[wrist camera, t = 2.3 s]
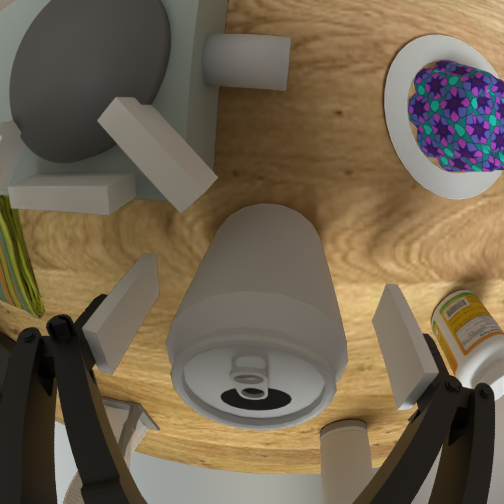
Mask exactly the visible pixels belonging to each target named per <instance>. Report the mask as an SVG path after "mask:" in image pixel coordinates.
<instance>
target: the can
mask: <svg viewBox="0 0 504 504" xmlns="http://www.w3.org/2000/svg"><path fill="white" fill-rule="evenodd" d="M166 346H167V351H168V356H169V360H170V363H171V365H172V366H173V367H172V370H171V373H170V374H171V379H172V383H173V387H174V389H175V391H176V392H177V393H178V395H179V396H180V397H181V399H182V400H183V401H184V402H185V404H187V405H188V406H189V407H191V408H192V409H193V410H195V411H196V412H197V413H199V414H200V415H202V416H204V417H206V418H208V419H210V420H212V421H215V422H217V423H220V424H223V425H227V426H231V427H234V428H238V429H247V430H258V431H261V430H278V429H284V428H288V427H292V426H296V425H300V424H302V423H304V422H306V421H308V420H310V419H312V418H314V417H316V416H317V415H319V414H320V413H321V412H322V411H323V410H324V409H325V408H326V407H328V406H329V405H330V403H331V401H332V399H333V397H334V395H335V393H336V391H337V390H336V383H337V382H338V381H339V380H340V379H341V376H342V374H343V372H344V369H345V367H346V365H347V362H348V356H347V341H346V337H345V332H344V328H343V323H342V319H341V315H340V311H339V306H338V302H337V298H336V294H335V290H334V286H333V282H332V279H331V275H330V271H329V267H328V264H327V260H326V256H325V253H324V249H323V245H322V242H321V238H320V237H319V235H318V233H317V231H316V230H315V228H314V226H313V224H312V223H311V222H310V221H309V220H307V219H306V218H305V217H304V216H303V215H302V214H300V213H299V212H298V211H295V210H293V209H291V208H288V207H286V206H283V205H280V204H268V203H260V204H255V205H251V206H247V207H243V208H242V209H240V210H238V211H237V212H235V213H233V214H232V215H230V216H229V217H228V218H227V219H226V220H225V221H224V223H223V224H222V225H221V226H220V227H219V229H218V230H217V232H216V234H215V236H214V238H213V240H212V242H211V244H210V246H209V248H208V250H207V252H206V254H205V256H204V258H203V260H202V262H201V264H200V266H199V268H198V270H197V272H196V274H195V276H194V278H193V280H192V282H191V284H190V286H189V288H188V290H187V292H186V294H185V296H184V298H183V300H182V303H181V305H180V307H179V309H178V311H177V313H176V315H175V317H174V319H173V322H172V324H171V326H170V330H169V334H168V338H167V342H166Z"/></svg>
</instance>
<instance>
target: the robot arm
mask: <svg viewBox="0 0 504 504" xmlns="http://www.w3.org/2000/svg"><path fill="white" fill-rule="evenodd" d="M159 295H160V291H159V282H158V272H157V262H156V255H154V254H147V253H144V254H143V255H142V256H141V257H140V258H139V259H138V260H137V262H136V263H135V264H134V265H133V266H132V267H131V268H130V270H129V271H128V272H127V273H126V274H125V275H124V277H123V278H122V279H121V280H120V281H119V283H118V284H117V285H116V286H115V287H114V289H113V290H112V291H111V292H110V293H109V295H105V294H101V295H100V296H98V297H96V298H95V299H94V300H93V301H92V302H91V303H90V305H89V306H88V307H87V308H86V309H85V312H83V313H82V314H81V315H80V317H79V318H78V319H77V320H76V322H75V323H74V324H73V321H72V319H71V317H70V316H68V315H64V314H62V315H57V316H54V317H53V318H51V319H50V320H49V321H48V323H47V325H46V328H47V331H48V333H49V335H50V336H41V334H40V331H39V330H38V329H37V328H35V327H30V328H26V329H24V330H23V331H22V332H21V333H20V334H19V336H18V339H17V342H16V343H15V342H14V341H12V340H11V339H10V338H8V337H7V336H5V335H3V334H1V333H0V504H57V494H56V482H55V463H54V428H55V408H56V395H57V386H58V392H59V398H60V403H61V408H62V413H63V418H64V422H65V426H66V430H67V435H68V438H69V442H70V446H71V449H72V453H73V456H74V459H75V463H76V466H77V469H78V472H79V475H80V478H81V481H82V487H81V495H82V498H83V501H84V503H85V504H147V502H146V501H145V500H144V498H143V497H142V495H141V493H140V492H139V490H138V488H137V486H136V484H135V482H134V480H133V478H132V476H131V473H130V472H129V469H128V467H127V465H126V463H125V460H124V458H123V456H122V453H121V451H120V449H119V446H118V444H117V441H116V439H115V436H114V433H113V431H112V428H111V425H110V423H109V420H108V417H107V414H106V411H105V408H104V405H103V402H102V399H101V395H100V392H99V389H98V385H97V382H96V378H95V375H94V371H93V369H92V368H93V366H94V364H95V363H96V365H97V367H98V369H99V371H102V372H105V373H108V374H111V375H113V373H114V371H115V370H116V368H117V366H118V364H119V362H120V361H121V359H122V357H123V355H124V354H125V352H126V350H127V348H128V347H129V345H130V343H131V341H132V340H133V338H134V336H135V335H136V333H137V331H138V329H139V328H140V326H141V324H142V323H143V321H144V319H145V318H146V316H147V314H148V313H149V311H150V309H151V308H152V306H153V304H154V303H155V301H156V300H157V298H158V296H159ZM372 322H373V325H374V328H375V331H376V335H377V338H378V341H379V344H380V348H381V351H382V355H383V358H384V362H385V365H386V369H387V372H388V376H389V380H390V384H391V387H392V391H393V395H394V399H395V403H396V408H397V410H408V409H411V408H412V407H413V406H414V404H415V403H416V402H417V405H418V409H417V410H416V412H415V413H414V414H413V415H412V416H411V417H410V418H409V419H408V421H410V422H409V424H408V426H407V427H406V429H405V431H404V432H403V434H402V436H401V437H400V439H399V440H398V442H397V444H396V445H395V447H394V448H393V450H392V451H391V453H390V454H389V456H388V457H387V459H386V460H385V462H384V463H383V465H382V466H381V467H380V469H379V470H378V472H377V473H376V474H375V476H374V477H373V478H372V480H371V481H370V482H369V483H368V485H367V486H366V487H365V489H364V490H363V491H362V492H361V494H360V495H359V496H358V497H357V498H356V500H355V501H354V502H353V503H352V504H411V502H412V501H413V499H414V497H415V496H416V494H417V493H418V491H419V489H420V487H421V485H422V484H423V482H424V480H425V479H426V477H427V475H428V473H429V471H430V469H431V467H432V465H433V463H434V461H435V459H436V457H437V455H438V453H439V451H440V449H441V447H442V444H443V447H442V453H441V457H440V462H439V466H438V470H437V474H436V478H435V482H434V485H433V489H432V493H431V496H430V499H429V502H428V504H487V499H488V493H489V488H490V481H491V474H492V464H493V455H494V439H495V396H494V391H493V390H492V388H491V387H490V386H489V385H488V384H486V383H482V382H481V383H478V384H477V385H476V387H475V388H474V389H471V388H466V387H463V386H462V384H461V382H460V381H459V380H458V379H457V378H456V377H454V376H451V375H449V373H448V371H447V368H446V366H445V364H444V361H443V359H442V357H441V355H440V352H439V350H438V349H437V346H436V344H435V342H434V340H433V339H432V338H431V337H430V336H429V335H428V334H422V332H421V330H420V328H419V326H418V323H417V321H416V319H415V317H414V315H413V313H412V311H411V309H410V307H409V305H408V303H407V301H406V299H405V297H404V295H403V294H402V292H401V290H400V288H399V286H398V285H396V284H387V283H386V286H385V289H384V291H383V294H382V297H381V299H380V302H379V304H378V307H377V310H376V312H375V315H374V317H373V319H372Z"/></svg>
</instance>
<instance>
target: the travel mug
mask: <svg viewBox="0 0 504 504" xmlns="http://www.w3.org/2000/svg"><path fill="white" fill-rule="evenodd" d="M320 442H321V444H320V448H321V486H322V487H321V492H322V504H352V503H353V502H354V501H355V500H356V498H357V497H358V496H359V495H360V494H361V492H362V491H363V490H364V489H365V487H366V486H367V485H368V483H369V482H370V481H371V480H372V478H373V471H372V462H371V454H370V447H369V440H368V435H367V427H366V424H365V423H364V422H362V421H360V420H342V421H338V422H334V423H332V424H329V425H327V426H326V427H324V428H323V429H322V430H321V432H320Z"/></svg>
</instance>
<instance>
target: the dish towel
mask: <svg viewBox="0 0 504 504" xmlns="http://www.w3.org/2000/svg"><path fill="white" fill-rule="evenodd" d="M0 300H2V301H5V302H7V303H9V304H11V305H13V306H15V307H17V308H20V309H23V310H25V311H27V312H29V313H31V314H32V315H33V316H34V317H36V318H38V319H40V318H41V317H42V316H43V314H44V312H45V310H44V306H43V303H42V300H41V297H40V294H39V291H38V288H37V285H36V282H35V278H34V275H33V271H32V268H31V264H30V260H29V257H28V254H27V250H26V245H25V241H24V237H23V232H22V228H21V224H20V220H19V214H18V209H14V208H11V205H10V199H9V195H0Z"/></svg>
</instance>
